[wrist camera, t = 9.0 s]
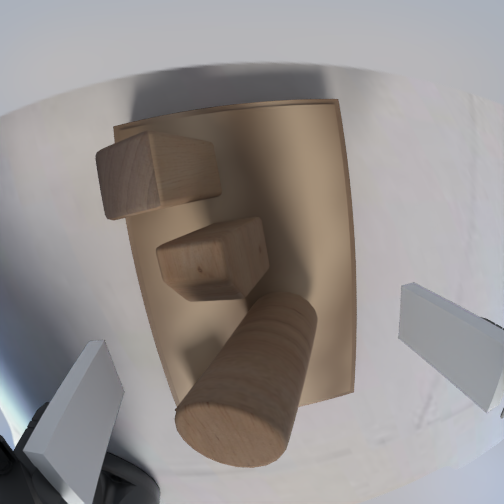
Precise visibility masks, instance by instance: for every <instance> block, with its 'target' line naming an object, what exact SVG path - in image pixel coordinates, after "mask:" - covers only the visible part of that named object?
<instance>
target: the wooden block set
mask: <svg viewBox="0 0 504 504" xmlns="http://www.w3.org/2000/svg"><path fill="white" fill-rule="evenodd" d="M96 165H97V171H98V178H99V184H100V190H101V195H102V201H103V206H104V211H105V215H106V217H107V219H110V220H118V219H122V218H126V217H130V216H134V215H138V214H142V213H146V212H151V211H155V210H159V209H164V208H168V207H173V206H177V205H182V204H186V203H191V202H196V201H200V200H205V199H210V198H215V197H218V196H220V195H221V194H222V188H221V183H220V177H219V172H218V166H217V161H216V156H215V150H214V145H213V144H212V142H209V141H205V140H200V139H195V138H189V137H184V136H179V135H173V134H168V133H162V132H156V131H148V130H146V131H143V132H141V133H138V134H136V135H134V136H131V137H129V138H126V139H124V140H122V141H119V142H117V143H115V144H112V145H110V146H108V147H106V148H103V149H101V150H100V151H98V152H97V153H96ZM156 256H157V260H158V264H159V268H160V272H161V276H162V279H163V281H164V282H165V283H166V284H167V285H168V286H169V287H171V288H172V289H173V290H174V291H176V292H177V293H178V294H179V295H181V296H182V297H183V298H184V299H186V300H187V301H190V302H199V301H219V300H237V299H243V298H245V297H246V296H247V295H248V294H249V293H250V291H251V290H252V289H253V288H254V287H255V285H256V284H257V283H258V282H259V280H260V279H261V278H262V277H263V275H264V274H265V273H266V272H267V271H268V269H269V266H270V265H269V259H268V253H267V248H266V242H265V236H264V231H263V225H262V220H261V219H260V217H250V218H243V219H237V220H231V221H225V222H218V223H213V224H211V225H208V226H206V227H203V228H201V229H198V230H196V231H193V232H191V233H188V234H186V235H183V236H181V237H179V238H176V239H174V240H171V241H169V242H166V243H164V244H162V245H160V246H158V247H157V248H156ZM317 322H318V317H317V314H316V311H315V309H314V308H313V306H312V305H311V304H310V302H309V301H307V300H306V299H304V298H303V297H301V296H300V295H297V294H294V293H291V292H274V293H269V294H266V295H265V296H263V297H261V298H259V299H258V300H257V301H256V302H255V304H254V305H253V306H252V307H251V309H250V310H249V311H248V313H247V314H246V316H245V317H244V318H243V320H242V321H241V323H240V324H239V325H238V327H237V328H236V329H235V331H234V332H233V334H232V335H231V336H230V338H229V339H228V340H227V342H226V343H225V345H224V346H223V347H222V349H221V350H220V351H219V353H218V354H217V355H216V357H215V358H214V359H213V361H212V362H211V364H210V365H209V366H208V368H207V369H206V370H205V372H204V373H203V374H202V376H201V377H200V378H199V380H198V381H197V382H196V383H195V384H194V385H193V387H192V388H191V389H190V391H189V392H188V393H187V395H186V396H185V397H184V399H183V400H182V401H181V402H180V404H179V405H178V406H177V408H176V409H175V411H176V415H175V424H176V428H177V431H178V432H179V434H180V435H181V437H182V438H183V440H184V441H185V442H186V443H187V444H188V445H190V446H191V447H192V448H193V449H194V450H196V451H197V452H199V453H201V454H202V455H204V456H205V457H207V458H210V459H212V460H214V461H217V462H219V463H222V464H227V465H231V466H235V467H249V468H253V467H259V466H265V465H268V464H270V463H272V462H274V461H276V460H277V459H278V458H279V457H280V456H281V455H282V454H283V453H284V451H285V450H286V449H287V445H288V442H289V438H290V435H291V431H292V428H293V424H294V421H295V417H296V413H297V410H298V406H299V402H300V398H301V394H302V390H303V386H304V382H305V378H306V374H307V370H308V366H309V361H310V357H311V353H312V348H313V344H314V339H315V334H316V330H317Z"/></svg>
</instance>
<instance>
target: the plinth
mask: <svg viewBox="0 0 504 504" xmlns="http://www.w3.org/2000/svg"><path fill="white" fill-rule="evenodd" d="M113 129H114V139H115V143H117V142H119V141H122V140H124V139H126V138H129V137H131V136H134V135H136V134H138V133H141V132H143V131H146V130H148V131H156V132H162V133H168V134H173V135H179V136H184V137H189V138H195V139H200V140H205V141H209V142H212V144H213V145H214V150H215V156H216V161H217V166H218V172H219V177H220V183H221V188H222V194H221V195H220V196H218V197H215V198H210V199H205V200H200V201H196V202H191V203H186V204H182V205H177V206H173V207H168V208H164V209H159V210H155V211H151V212H146V213H142V214H138V215H134V216H130V217H126V218H125V219H126V224H127V229H128V235H129V240H130V245H131V250H132V254H133V259H134V264H135V268H136V273H137V277H138V281H139V285H140V289H141V293H142V297H143V301H144V305H145V309H146V313H147V316H148V320H149V323H150V327H151V330H152V334H153V337H154V341H155V344H156V347H157V351H158V354H159V357H160V360H161V363H162V366H163V369H164V372H165V375H166V378H167V381H168V384H169V387H170V390H171V393H172V395H173V398H174V401H175V404H176V406H178V405H179V404H180V402H181V401H182V400H183V399H184V397H185V396H186V395H187V393H188V392H189V391H190V389H191V388H192V387H193V385H194V384H195V383H196V382H197V381H198V380H199V378H200V377H201V376H202V374H203V373H204V372H205V370H206V369H207V368H208V366H209V365H210V364H211V362H212V361H213V359H214V358H215V357H216V355H217V354H218V353H219V351H220V350H221V349H222V347H223V346H224V345H225V343H226V342H227V340H228V339H229V338H230V336H231V335H232V334H233V332H234V331H235V329H236V328H237V327H238V325H239V324H240V323H241V321H242V320H243V318H244V317H245V316H246V314H247V313H248V311H249V310H250V309H251V307H252V306H253V305H254V304H255V302H256V301H257V300H258V299H259V298H261V297H263V296H265V295H266V294H269V293H274V292H291V293H294V294H297V295H300V296H301V297H303V298H304V299H306V300H307V301H309V302H310V304H311V305H312V306H313V308H314V309H315V311H316V314H317V317H318V322H317V330H316V334H315V339H314V344H313V348H312V353H311V357H310V361H309V366H308V370H307V374H306V378H305V382H304V386H303V390H302V394H301V398H300V402H299V406H298V407H300V406H305V405H309V404H313V403H317V402H321V401H325V400H328V399H332V398H336V397H339V396H343V395H346V394H349V393H353V392H354V381H355V361H356V322H357V299H356V260H355V240H354V224H353V211H352V199H351V188H350V179H349V170H348V161H347V153H346V146H345V139H344V132H343V125H342V119H341V112H340V106H339V101H338V99H303V100H281V101H266V102H254V103H243V104H234V105H225V106H217V107H210V108H203V109H196V110H190V111H184V112H178V113H173V114H167V115H162V116H157V117H152V118H148V119H143V120H139V121H134V122H130V123H126V124H122V125H118V126H114V127H113ZM250 217H260V219H261V220H262V225H263V231H264V236H265V242H266V248H267V253H268V259H269V265H270V266H269V269H268V271H267V272H266V273H265V274H264V275H263V277H262V278H261V279H260V280H259V282H258V283H257V284H256V285H255V287H254V288H253V289H252V290H251V291H250V293H249V294H248V295H247V296H246V297H245V298H243V299H237V300H219V301H199V302H190V301H187V300H186V299H184V298H183V297H182V296H181V295H179V294H178V293H177V292H176V291H174V290H173V289H172V288H171V287H169V286H168V285H167V284H166V283H165V282H164V281H163V279H162V276H161V272H160V268H159V264H158V260H157V256H156V248H157V247H158V246H160V245H162V244H164V243H166V242H169V241H171V240H174V239H176V238H179V237H181V236H183V235H186V234H188V233H191V232H193V231H196V230H198V229H201V228H203V227H206V226H208V225H211V224H213V223H218V222H225V221H231V220H237V219H243V218H250Z"/></svg>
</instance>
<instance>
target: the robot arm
mask: <svg viewBox="0 0 504 504" xmlns="http://www.w3.org/2000/svg"><path fill="white" fill-rule="evenodd" d="M398 338H399V339H400V340H401V341H403V342H404V343H405V344H406V345H407V346H409V347H410V348H411V349H412V350H413V351H415V352H416V353H417V354H418V355H419V356H421V357H422V358H423V359H424V360H425V361H427V362H428V363H429V364H430V365H431V366H432V367H434V368H435V369H436V370H437V371H438V372H440V373H441V374H442V375H443V376H444V377H445V378H447V379H448V380H449V381H450V382H451V383H452V384H454V385H455V386H456V387H457V388H458V389H459V390H461V391H462V392H463V393H464V394H465V395H466V396H467V397H469V398H470V399H471V400H472V401H473V402H474V403H475V404H477V405H478V406H479V407H480V408H481V409H482V410H483V411H485V412H486V413H488V412H489V411H491V410H492V409H494V408H495V407H496V406H498V405H499V404H500V401H501V399H502V396H503V394H504V328H503V329H502V327H501V326H499V325H497V324H496V325H495V323H493V322H492V321H490V320H488V319H486V318H482V317H479V316H477V315H475V314H474V313H472V312H470V311H468V310H466V309H464V308H462V307H460V306H459V305H457V304H455V303H453V302H451V301H449V300H447V299H445V298H443V297H441V296H440V295H438V294H436V293H434V292H432V291H430V290H428V289H426V288H424V287H422V286H420V285H418V284H416V283H414V282H413V283H410V284H406V285H402V286H401V305H400V322H399V335H398ZM124 393H125V391H124V389H123V386H122V384H121V382H120V379H119V377H118V374H117V372H116V369H115V367H114V364H113V361H112V359H111V356H110V353H109V351H108V348H107V345H106V342H105V340H97V341H89V342H88V344H87V345H86V347H85V348H84V350H83V351H82V353H81V354H80V356H79V357H78V359H77V360H76V362H75V363H74V365H73V366H72V368H71V370H70V371H69V373H68V374H67V376H66V377H65V379H64V381H63V382H62V384H61V385H60V387H59V389H58V390H57V392H56V393H55V395H54V397H53V398H52V400H51V402H46V403H45V404H44V405H43V406H41V407H40V408H39V409H38V410H37V411H36V413H35V415H34V416H33V418H32V421H30V423H29V425H28V426H27V427H28V429H26V430H25V431H24V433H23V435H22V437H21V438H20V440H19V442H18V444H17V445H16V447H15V449H14V451H12V449H11V448H10V446H9V445H8V444H7V442H6V441H5V439H4V438H3V437H2V436H1V435H0V504H159V503H160V490H159V488H158V486H157V484H156V483H155V482H154V481H153V480H152V479H151V478H150V477H149V476H148V475H147V474H146V473H144V472H143V471H142V470H140V469H139V468H137V467H136V466H134V465H132V464H130V463H129V462H127V461H125V460H123V459H121V458H118V457H116V456H114V455H111V454H109V453H106V450H107V446H108V443H109V440H110V436H111V433H112V430H113V426H114V423H115V420H116V417H117V414H118V411H119V408H120V405H121V401H122V398H123V395H124ZM503 417H504V409H503V411H502V413H501V418H503Z"/></svg>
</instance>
